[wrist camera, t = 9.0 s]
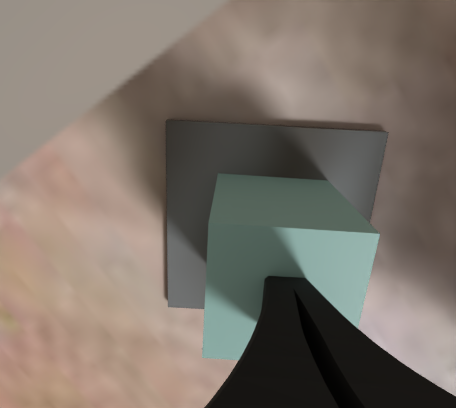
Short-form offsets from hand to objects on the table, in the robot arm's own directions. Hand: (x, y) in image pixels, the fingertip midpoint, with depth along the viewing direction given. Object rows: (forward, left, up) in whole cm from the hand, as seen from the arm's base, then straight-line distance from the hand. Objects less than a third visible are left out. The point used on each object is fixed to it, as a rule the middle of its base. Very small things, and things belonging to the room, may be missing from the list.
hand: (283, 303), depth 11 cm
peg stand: (0, 0, -6) cm, 6 cm away
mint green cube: (0, 0, -6) cm, 6 cm away
